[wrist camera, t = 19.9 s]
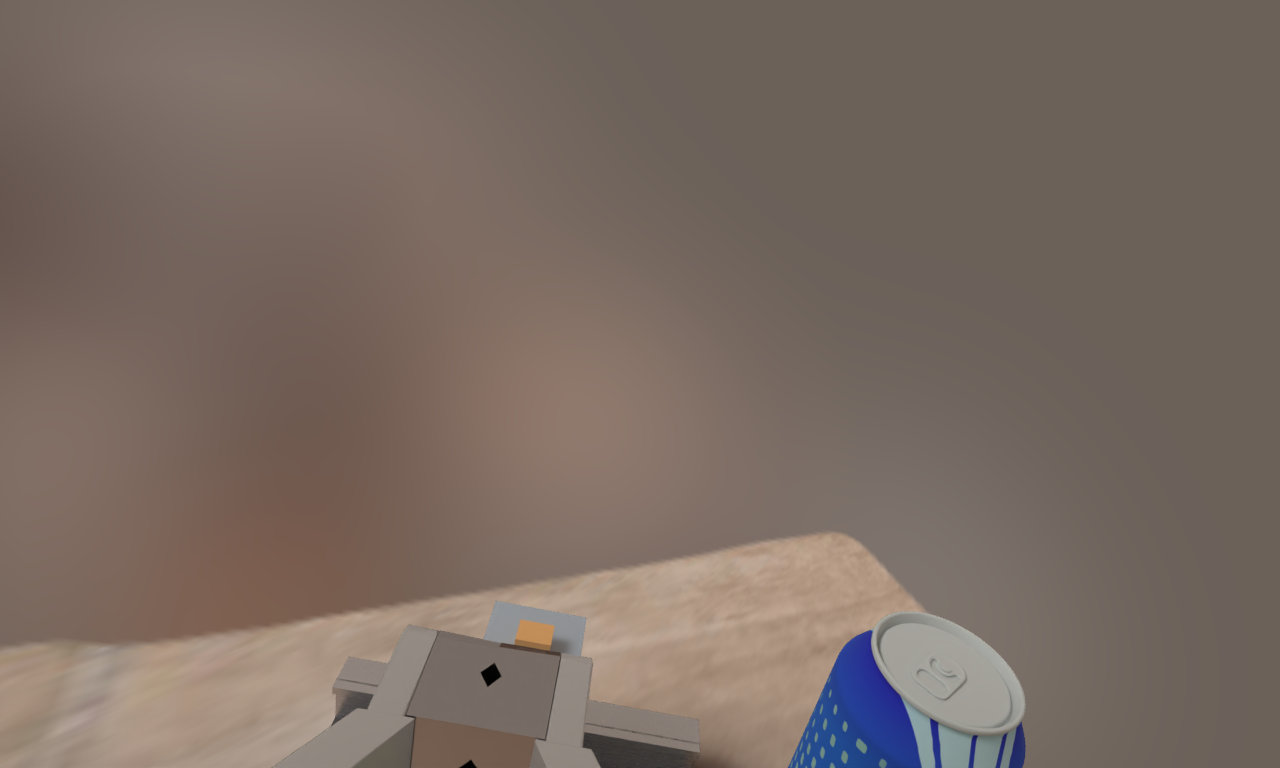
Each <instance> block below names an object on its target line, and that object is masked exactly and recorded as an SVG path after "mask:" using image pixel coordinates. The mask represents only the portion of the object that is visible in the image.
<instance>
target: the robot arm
mask: <svg viewBox="0 0 1280 768" xmlns="http://www.w3.org/2000/svg"><path fill="white" fill-rule="evenodd" d="M592 667H593V662H592V658H587V657H581V656H576V655H570V654H564V653H562V654H561V653H560V652H554V651H548V650H542V649H536V648H530V647H525V646H519V645H513V644H507V643H498V642H493V641H488V640H483V639H479V638H474V637H469V636H464V635H460V634H455V633H450V632H445V631H438V630H433V629H428V628H423V627H419V626H414V625H408V626H407V628H406V629H405V630H404V631H403V633H402V635H401V637H400V639H399V641H398V644H397V646H396V648H395V650H394V652H393V654H392V657H391V659H390V661H389V663H388V665H387V667H386V670H385V672H384V674H383V676H382V678H381V680H380V683H379V685H378V687H377V689H376V691H375V693H374V696H373V698H372V700H371V702H370V704H369V706H368V708H367V709H360V708H357V709H355V710H354V711H352V712H351V713H350V714H348V715H347V716H345V717H344V718H342V719H341V720H340V721H338V722H337V723H335V724H334V725H332V726H331V727H329V728H328V729H327V730H325V731H324V732H322V733H321V734H319V735H318V736H316V737H315V738H314V739H312V740H311V741H309V742H308V743H306V744H305V745H304V746H302V747H301V748H299V749H298V750H296V751H295V752H293V753H292V754H291V755H289V756H288V757H286V758H285V759H283V760H282V761H281V762H279V763H278V764H276V765H275V766H273V767H272V768H601V767H600V765H599V763H598V761H597V759H596V757H595V755H594V753H593V751H592V750H591V749H587V748H582V747H583V739H584V731H585V723H586V715H587V707H588V699H589V691H590V683H591V675H592Z"/></svg>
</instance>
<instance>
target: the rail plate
mask: <svg viewBox="0 0 1280 768" xmlns="http://www.w3.org/2000/svg"><path fill="white" fill-rule="evenodd" d="M387 665H388V663H382V662H377V661H371V660H366V659H360V658H355V657H348V659H347V661H346V662H345V664H344V666H343V668H342V670H341V672H340V674H339V676H338V678H337V679H336V681H335V683H334V685H333V687H332V694H336V710H335V719H334V721H333V723H332V725H334V724H335V723H337V722H338V721H340V720H341V719H342V718H344V717H345V716H347V715H348V714H350V713H351V712H352V711H354V710H355V709H357V708H360V709H367V708H368V706H369V704H370V702H371V700H372V698H373V696H374V693H375V691H376V689H377V687H378V685H379V683H380V680H381V678H382V676H383V674H384V672H385V670H386V667H387ZM332 725H331V726H332ZM582 748H587V749H591V750H592V751H593V753H594V755H595V757H596V759H597V761H598V763H599V765H600V767H601V768H691V767H692V765H693V762H694V759H695V758H697V759H698V757H699V754H700V740H699V720H697V719H692V718H686V717H681V716H675V715H670V714H664V713H659V712H653V711H647V710H642V709H636V708H631V707H625V706H620V705H614V704H609V703H603V702H598V701H592V700H588V707H587V715H586V723H585V731H584V739H583V747H582Z"/></svg>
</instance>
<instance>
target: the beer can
mask: <svg viewBox="0 0 1280 768" xmlns="http://www.w3.org/2000/svg"><path fill="white" fill-rule="evenodd" d="M1025 707H1026V702H1025V696H1024V692H1023V689H1022V686H1021V684H1020V682H1019V680H1018V678H1017V677H1016V675H1015V673H1014V672H1013V671H1012V669H1011V668H1010V667H1009V665H1008V664H1007V663H1006V662H1005V660H1004V659H1003V658H1002V657H1001V656H1000V655H999V654H998V653H997V652H996V651H995V650H994V649H993V648H991V647H990V646H989V645H988V644H987V643H985V642H984V641H983V640H982V639H980V638H979V637H977V636H976V635H974V634H973V633H971V632H970V631H968V630H966V629H965V628H963V627H961V626H959V625H957V624H955V623H953V622H951V621H948V620H946V619H944V618H940V617H938V616H934V615H931V614H927V613H922V612H915V611H901V612H895V613H892V614H889V615H887V616H885V617H884V618H882V619H881V620H880V621H879V622H878V623H877V625H876V626H875V628H874V629H872V630H869V631H867V632H864V633H862V634H860V635H858V636H856V637H854V638H853V639H852V640H850V641H849V642H848V643H847V644H846V645H845V646H844V647H843V649H842V650H841V652H840V654H839V655H838V657H837V660H836V662H835V664H834V666H833V669H832V671H831V673H830V675H829V678H828V680H827V682H826V684H825V686H824V689H823V691H822V693H821V695H820V698H819V700H818V702H817V704H816V707H815V709H814V711H813V713H812V716H811V718H810V720H809V722H808V724H807V727H806V729H805V731H804V733H803V736H802V738H801V740H800V742H799V745H798V747H797V749H796V751H795V754H794V756H793V758H792V760H791V762H790V765H789V767H788V768H1022V767H1023V764H1024V759H1025V738H1024V732H1023V727H1022V722H1021V721H1022V719H1023V717H1024V714H1025Z"/></svg>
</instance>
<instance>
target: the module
mask: <svg viewBox="0 0 1280 768" xmlns="http://www.w3.org/2000/svg"><path fill="white" fill-rule="evenodd" d="M585 624H586V618H585V617H580V616H575V615H569V614H564V613H559V612H553V611H548V610H542V609H537V608H532V607H526V606H521V605H516V604H510V603H505V602H500V601H496V602H495V605H494V608H493V611H492V614H491V618H490V621H489V624H488V627H487V630H486V634H485V637H484V640H488V641H493V642H498V643H507V644H513V645H519V646H525V647H530V648H536V649H542V650H548V651H554V652H560V653H561V654H562V653H564V654H570V655H576V656H581V651H582V644H583V638H584V631H585Z"/></svg>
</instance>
